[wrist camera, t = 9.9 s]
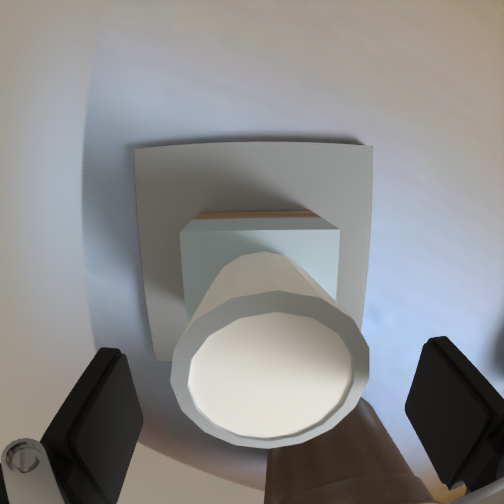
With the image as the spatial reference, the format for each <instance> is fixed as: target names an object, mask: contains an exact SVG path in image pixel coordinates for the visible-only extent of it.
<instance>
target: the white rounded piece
mask: <svg viewBox="0 0 504 504" xmlns="http://www.w3.org/2000/svg"><path fill="white" fill-rule="evenodd" d="M368 380H369V347H368V345H367V343H366V341H365V339H364V338H363V336H362V334H361V332H360V330H359V328H358V327H357V325H356V323H355V321H354V319H353V318H352V317H351V316H350V315H349V314H348V313H347V312H346V311H345V310H344V309H343V308H342V307H341V306H340V305H339V304H338V303H337V302H336V301H335V300H334V299H333V298H332V297H331V296H330V295H329V294H328V293H327V292H326V291H325V290H324V289H323V288H322V287H321V286H320V285H319V284H318V283H317V282H316V281H315V280H314V279H313V278H312V277H311V276H310V275H309V273H308V272H307V271H306V270H305V269H304V268H303V267H301V266H300V265H298V264H297V263H295V262H294V261H292V260H291V259H289V258H288V257H286V256H284V255H279V254H275V253H270V252H265V251H262V252H257V253H252V254H246V255H241V256H240V257H238V258H237V259H235V260H234V261H232V262H230V263H229V264H227V265H226V266H224V267H223V268H222V270H221V271H220V273H219V274H218V276H217V277H216V278H215V280H214V281H213V283H212V284H211V286H210V288H209V289H208V291H207V293H206V295H205V296H204V298H203V300H202V302H201V303H200V305H199V307H198V309H197V310H196V312H195V314H194V315H193V317H192V319H191V321H190V322H189V324H188V326H187V328H186V329H185V331H184V333H183V335H182V336H181V338H180V340H179V342H178V343H177V345H176V347H175V349H174V351H173V359H172V368H171V377H170V383H171V386H172V389H173V391H174V393H175V396H176V398H177V401H178V403H179V406H180V408H181V410H182V411H183V412H184V413H185V414H186V415H187V416H188V417H189V418H190V419H191V420H192V421H193V422H194V423H195V424H196V425H197V426H198V427H200V428H201V429H202V430H203V431H204V432H206V433H208V434H210V435H212V436H215V437H217V438H219V439H221V440H224V441H226V442H229V443H231V444H233V445H239V446H247V447H256V448H266V449H269V448H276V447H282V446H288V445H294V444H300V443H303V442H305V441H307V440H310V439H312V438H314V437H316V436H318V435H320V434H322V433H324V432H326V431H328V430H330V429H332V428H333V427H334V426H335V425H337V424H338V423H339V422H340V421H341V420H342V419H343V418H344V417H345V416H346V415H347V414H348V413H349V412H350V411H351V410H353V409H354V408H355V407H356V405H357V403H358V401H359V399H360V397H361V395H362V393H363V391H364V388H365V386H366V384H367V382H368Z"/></svg>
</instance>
